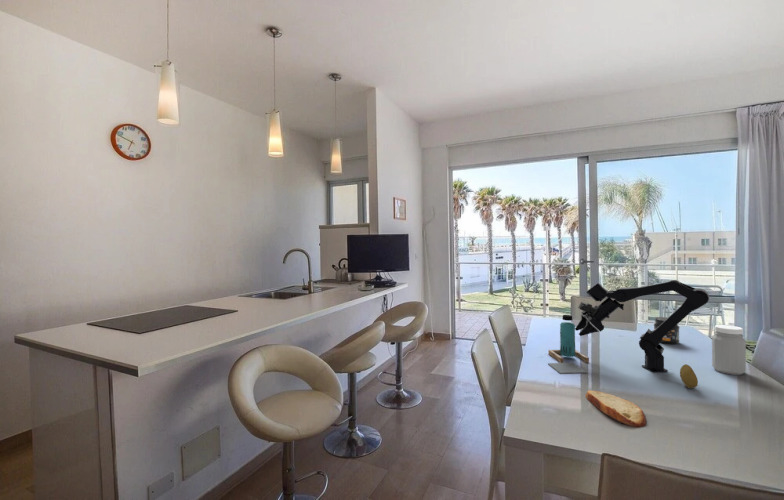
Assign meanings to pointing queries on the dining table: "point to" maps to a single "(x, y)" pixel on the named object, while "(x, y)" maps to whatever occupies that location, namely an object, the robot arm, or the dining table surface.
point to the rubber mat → (566, 368)
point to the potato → (688, 376)
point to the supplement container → (672, 335)
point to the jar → (729, 350)
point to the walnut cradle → (556, 354)
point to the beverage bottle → (567, 337)
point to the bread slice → (617, 408)
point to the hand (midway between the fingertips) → (577, 332)
